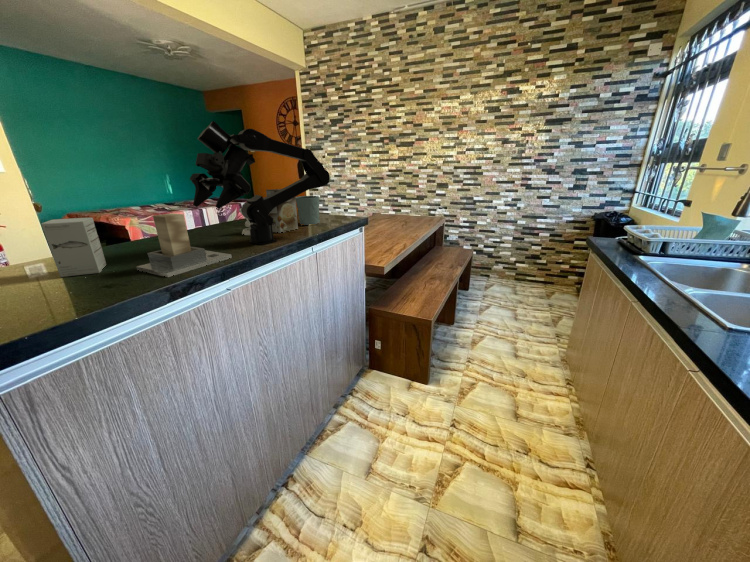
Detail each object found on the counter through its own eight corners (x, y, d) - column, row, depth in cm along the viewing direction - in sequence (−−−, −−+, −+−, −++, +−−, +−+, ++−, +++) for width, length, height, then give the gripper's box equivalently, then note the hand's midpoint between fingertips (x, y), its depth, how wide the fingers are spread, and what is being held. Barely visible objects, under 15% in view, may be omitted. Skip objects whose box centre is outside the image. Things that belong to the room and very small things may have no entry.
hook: (225, 222, 111) (231, 209, 115) (245, 244, 120) (250, 231, 124) (242, 218, 109) (248, 205, 113) (262, 241, 118) (266, 228, 122)
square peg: (182, 258, 82) (171, 213, 78) (193, 260, 80) (183, 214, 76) (164, 263, 78) (152, 215, 74) (176, 265, 76) (164, 216, 72)
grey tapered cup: (325, 223, 139) (323, 196, 135) (312, 227, 131) (310, 198, 127) (306, 221, 143) (304, 195, 139) (293, 225, 135) (290, 197, 130)
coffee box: (280, 233, 118) (275, 190, 113) (270, 231, 122) (264, 189, 116) (298, 229, 125) (295, 188, 120) (288, 228, 129) (284, 188, 123)
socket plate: (202, 253, 91) (200, 239, 90) (231, 257, 86) (229, 243, 85) (137, 270, 76) (132, 254, 74) (167, 277, 71) (163, 260, 70)
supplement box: (59, 278, 71) (38, 223, 66) (71, 269, 77) (52, 218, 72) (100, 273, 74) (82, 220, 69) (108, 265, 80) (92, 216, 76)
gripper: (189, 143, 88) (159, 185, 83) (235, 141, 81) (206, 187, 75) (217, 172, 98) (192, 211, 92) (261, 172, 90) (237, 215, 84)
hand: (205, 206), depth 86 cm, fingers open, 9 cm apart
